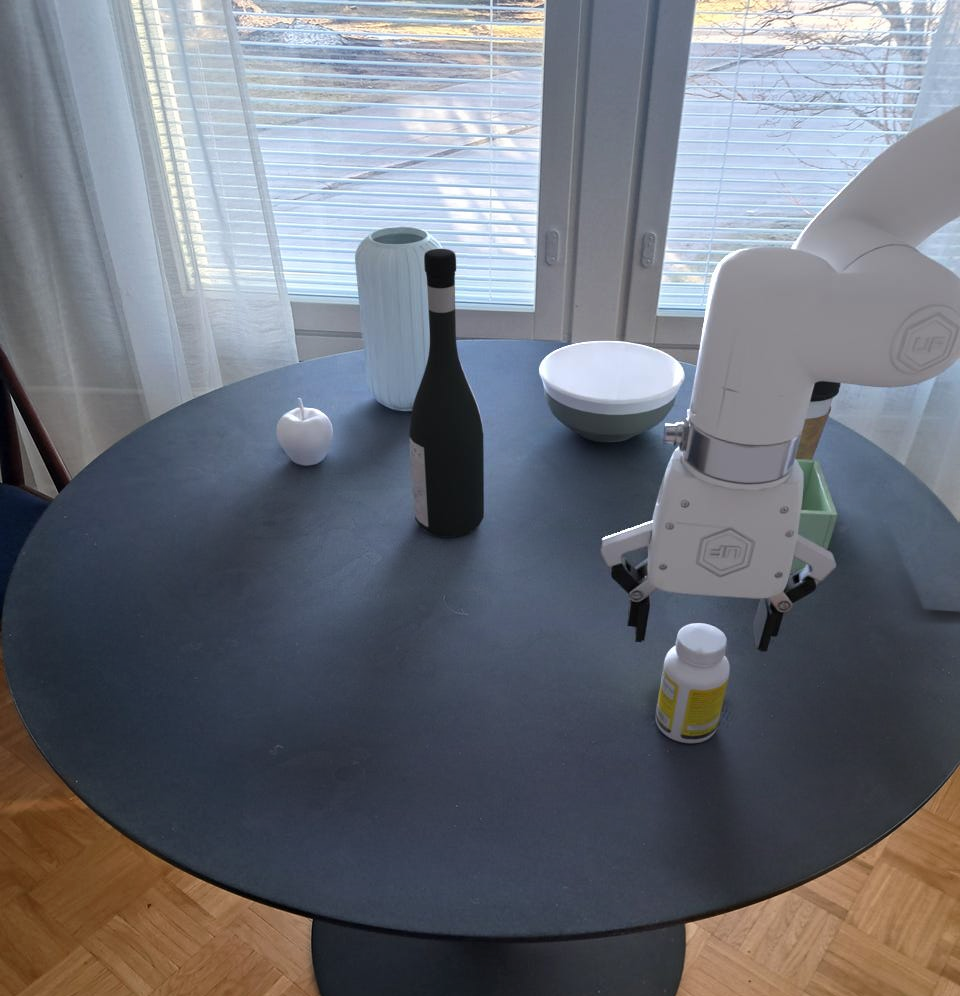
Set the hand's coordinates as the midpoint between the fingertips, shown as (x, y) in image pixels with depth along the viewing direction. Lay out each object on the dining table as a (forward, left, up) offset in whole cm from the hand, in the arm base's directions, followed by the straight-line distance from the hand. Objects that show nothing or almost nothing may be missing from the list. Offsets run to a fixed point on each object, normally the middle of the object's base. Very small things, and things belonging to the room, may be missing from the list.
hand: (698, 635), depth 73 cm
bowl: (+7, -55, -10) cm, 57 cm away
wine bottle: (+25, -30, -10) cm, 40 cm away
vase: (+35, -61, -10) cm, 71 cm away
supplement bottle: (0, 0, -10) cm, 10 cm away
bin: (-10, -29, -10) cm, 33 cm away
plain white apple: (+45, -43, -10) cm, 63 cm away
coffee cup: (-14, -43, -10) cm, 47 cm away
